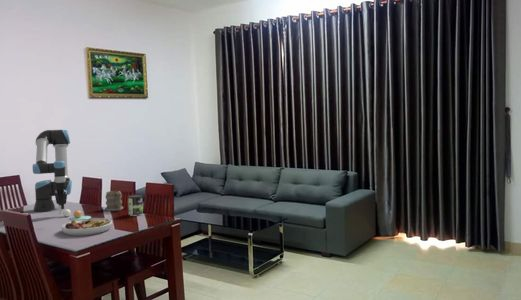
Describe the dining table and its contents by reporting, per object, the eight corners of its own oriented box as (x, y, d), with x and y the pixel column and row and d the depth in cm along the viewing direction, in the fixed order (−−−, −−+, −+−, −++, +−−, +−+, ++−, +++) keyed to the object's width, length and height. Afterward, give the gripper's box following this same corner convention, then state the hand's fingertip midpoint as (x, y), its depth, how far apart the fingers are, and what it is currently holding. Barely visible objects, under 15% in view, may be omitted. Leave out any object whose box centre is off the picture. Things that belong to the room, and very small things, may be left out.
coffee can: (145, 213, 324) (144, 194, 323) (138, 216, 314) (138, 197, 313) (132, 212, 326) (132, 194, 325) (126, 215, 316) (125, 197, 315)
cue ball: (65, 209, 313) (66, 216, 313) (71, 207, 318) (73, 215, 318) (60, 210, 316) (62, 217, 315) (66, 209, 321) (68, 216, 320)
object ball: (73, 209, 309) (78, 214, 307) (79, 208, 314) (84, 212, 312) (70, 215, 311) (75, 220, 309) (77, 214, 316) (81, 218, 314)
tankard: (103, 209, 342) (102, 190, 341) (119, 207, 350) (118, 188, 349) (112, 213, 326) (112, 193, 325) (128, 210, 334) (128, 191, 333)
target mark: (65, 219, 307) (65, 219, 307) (81, 215, 320) (81, 215, 320) (79, 221, 301) (79, 220, 301) (95, 217, 314) (95, 216, 314)
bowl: (86, 223, 295) (86, 212, 294) (122, 227, 284) (121, 215, 283) (50, 235, 267) (50, 222, 266) (88, 239, 256) (88, 226, 255)
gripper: (49, 182, 317) (51, 213, 319) (61, 183, 311) (63, 215, 313) (58, 180, 324) (60, 211, 326) (70, 181, 318) (72, 213, 320)
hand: (61, 213), depth 319 cm, fingers closed
